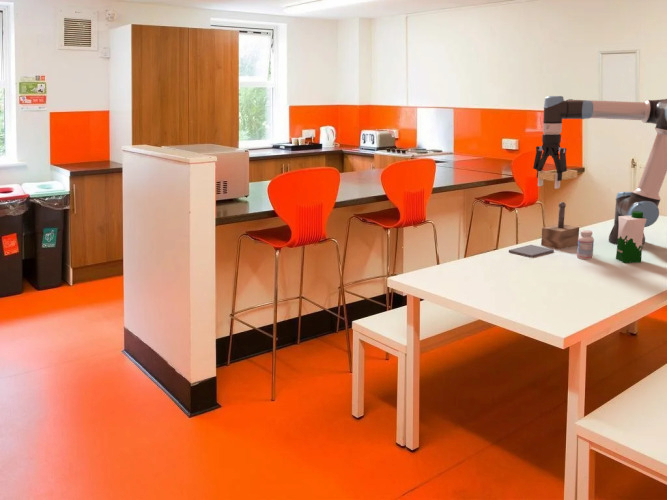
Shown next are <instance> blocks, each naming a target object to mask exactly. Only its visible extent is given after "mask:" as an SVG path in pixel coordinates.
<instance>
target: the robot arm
mask: <svg viewBox="0 0 667 500" xmlns="http://www.w3.org/2000/svg"><path fill="white" fill-rule="evenodd" d="M581 119H582V120H587V119H588V120H589V119H600V120H601V119H603V120H604V119H606V120H623V121H624V120H627V121H628V120H629V121H641V122H642V123H645V124H653V125H655V127H654V129H655V131H656V136H655V139H654V142H653V144H652V148H651V150H650V152H649V155H648V158H647V161H646V164H645V166H644V169H643V172H642V175H641V177H640V180H639V182H638V185H637V188H635V189H634V190H632V191H619V192H617V193H616V198H615V210H614V222H613V226H612V229H611V230H610V233H609V234H608V235H609V236H608V242H609V243H611V244H615V245H617V241H618V229H619V218H618V216H632V212H633V211H639V212H643V217H644V218H645V219H647V220H646V223H645V226H644V228H648V227H650V226H652V225H654V224H655V223H656V222H657V221H658V219H659V216H660V209H659V205H660V202H661V197H660V191H661V188H662V186H663V184H664V180H665V177H666V176H667V98H663V99H646V100H645V101H643V102H641V101H621V100H620V101H617V100H614V101H613V100H611V101H610V100H594V99H593V100H591V99H572V98H571V99H570V98H569V99H566V100H565V99H564V96H562V95H549V96H548V95H547V96H546V97H545V98H544V104H543V121H542V123H543V124H542V135H541V137H542V138H541V141H542V145H540V146H539V145H538V146H536V147H535V151H536V152H535V157H534V161H533V170H536V178H537V187H543V186H544V180H542V179H538V177H539V172H543V171H544V167H545V164H546V163H547V160H548V158H549V156H550V157H551V158H552V159H553V162H554V166H555V170H557V172H556V173H555V181H554V189H555V190H556V189H561V181H563V180H562V173H563V172H566V171H567V169H568V167H567V156H566V154H567V153H566V152H567V148H566V147H561V141H562V134H561V133H562V129H563V120H581ZM645 244H646V235H645V232H644V233H643V243H642V246H643V245H645Z"/></svg>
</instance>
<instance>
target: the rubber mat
mask: <svg viewBox="0 0 667 500" xmlns="http://www.w3.org/2000/svg"><path fill="white" fill-rule="evenodd" d="M554 252H555V251H554V248H549V247H545V246H544V247H543V246H538V245H533V244H528V245H524V246H519V247H516V248H511V249H508V253H510V254H513V255H514V254H515V255H519V256H522V257H527V258H532V259H533V258H535V257H539V256H543V255H548V254H552V253H554Z"/></svg>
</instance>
